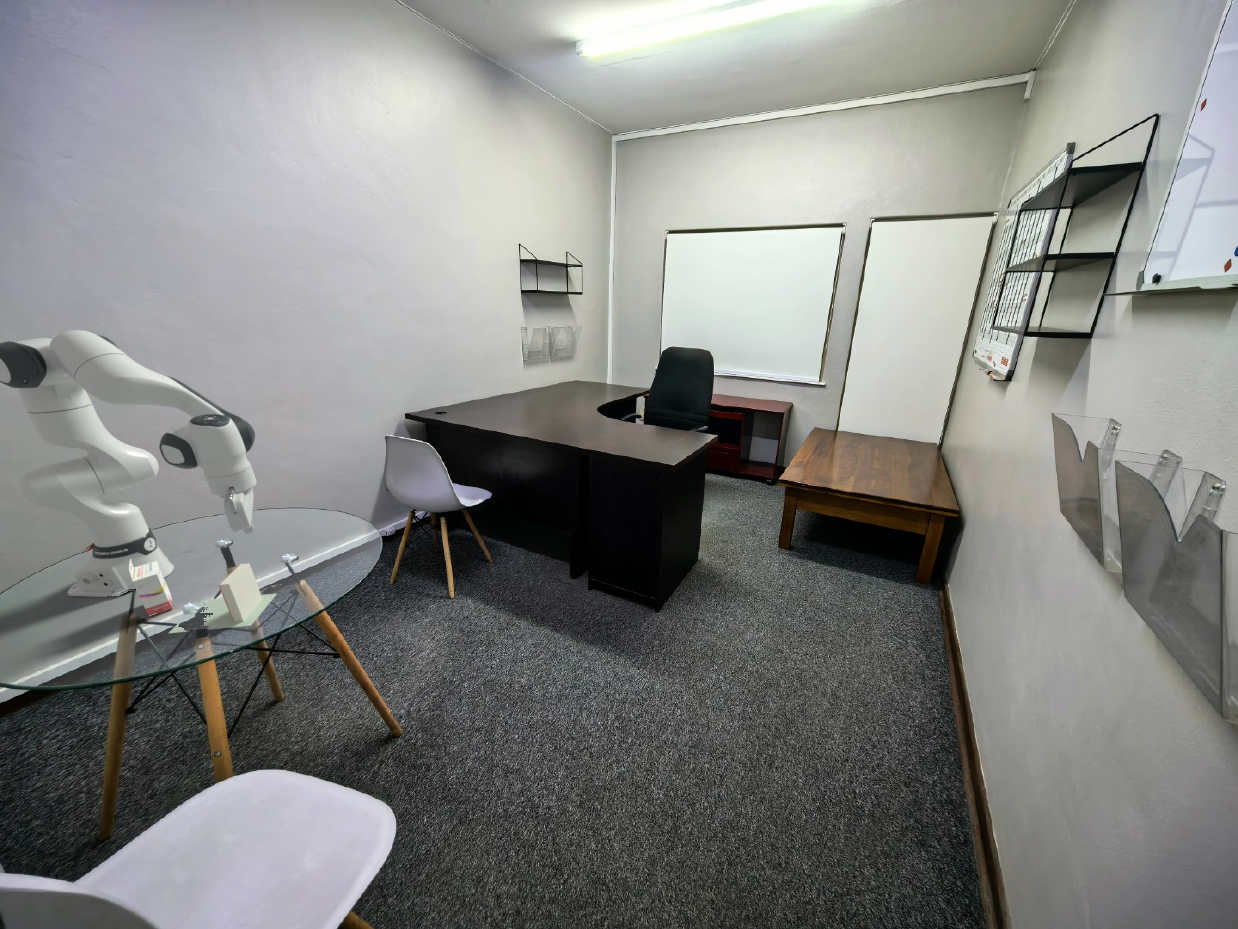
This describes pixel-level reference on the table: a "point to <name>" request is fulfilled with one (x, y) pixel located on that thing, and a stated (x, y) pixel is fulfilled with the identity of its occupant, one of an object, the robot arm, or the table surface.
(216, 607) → the felt pad
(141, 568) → the ink cartridge box
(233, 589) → the cream layered slab
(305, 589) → the table surface
